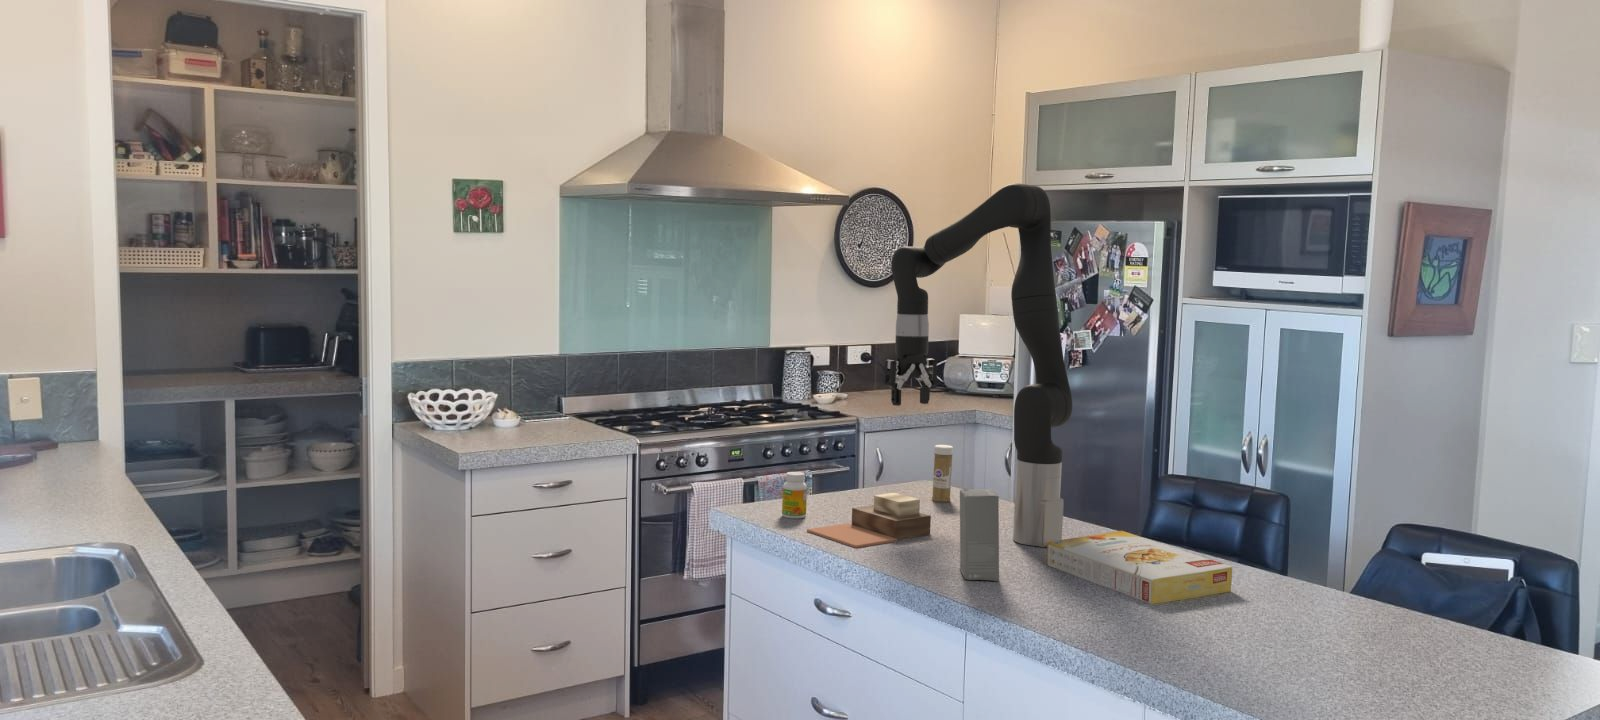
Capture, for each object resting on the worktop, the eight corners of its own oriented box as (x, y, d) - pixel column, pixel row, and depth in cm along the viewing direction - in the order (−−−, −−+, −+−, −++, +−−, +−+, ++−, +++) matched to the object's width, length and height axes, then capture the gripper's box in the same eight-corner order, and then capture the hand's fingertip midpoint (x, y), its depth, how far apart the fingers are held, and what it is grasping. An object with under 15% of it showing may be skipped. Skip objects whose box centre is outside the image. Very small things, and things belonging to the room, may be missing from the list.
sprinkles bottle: (929, 501, 285) (932, 446, 283) (934, 497, 289) (936, 443, 288) (948, 503, 283) (951, 447, 282) (952, 499, 287) (955, 445, 286)
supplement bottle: (778, 517, 262) (780, 474, 261) (786, 512, 267) (787, 470, 266) (801, 519, 260) (803, 476, 259) (808, 515, 265) (810, 472, 264)
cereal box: (1122, 529, 238) (1235, 562, 214) (1121, 555, 239) (1234, 592, 214) (1045, 540, 228) (1155, 577, 204) (1044, 568, 229) (1153, 608, 204)
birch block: (919, 513, 252) (920, 499, 252) (898, 516, 249) (899, 502, 248) (894, 506, 259) (894, 492, 258) (873, 509, 255) (874, 495, 255)
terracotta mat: (896, 541, 243) (896, 538, 243) (856, 547, 237) (856, 545, 237) (846, 525, 256) (846, 523, 256) (806, 531, 249) (807, 529, 249)
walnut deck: (930, 534, 251) (930, 515, 250) (895, 539, 244) (896, 520, 244) (885, 521, 262) (886, 503, 261) (851, 526, 255) (852, 508, 255)
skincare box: (999, 582, 215) (1003, 496, 214) (960, 580, 215) (964, 495, 214) (993, 569, 224) (997, 487, 222) (955, 568, 224) (959, 486, 222)
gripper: (899, 335, 263) (898, 407, 264) (946, 334, 272) (944, 404, 273) (877, 333, 269) (876, 404, 270) (923, 332, 278) (922, 401, 279)
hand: (910, 404), depth 271 cm, fingers open, 8 cm apart
